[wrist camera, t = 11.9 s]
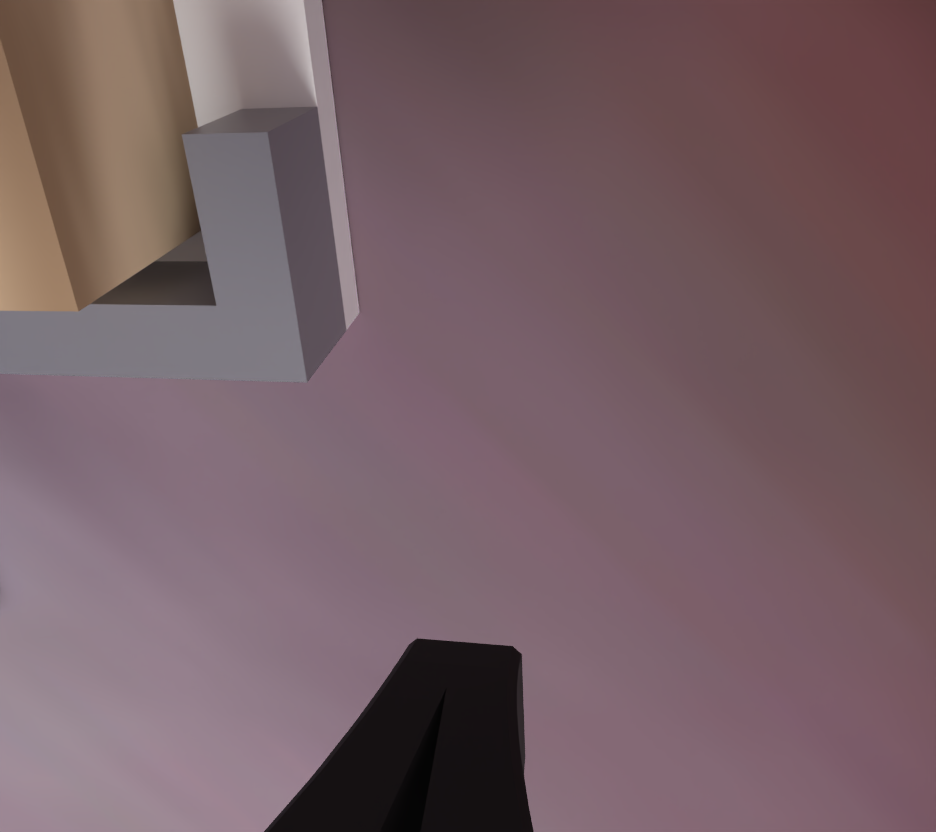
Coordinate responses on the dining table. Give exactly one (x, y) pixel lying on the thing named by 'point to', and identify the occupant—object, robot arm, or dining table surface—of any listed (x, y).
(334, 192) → the cradle
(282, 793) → the dining table surface
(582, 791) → the dining table surface
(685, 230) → the dining table surface
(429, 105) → the dining table surface
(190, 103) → the oak slat
